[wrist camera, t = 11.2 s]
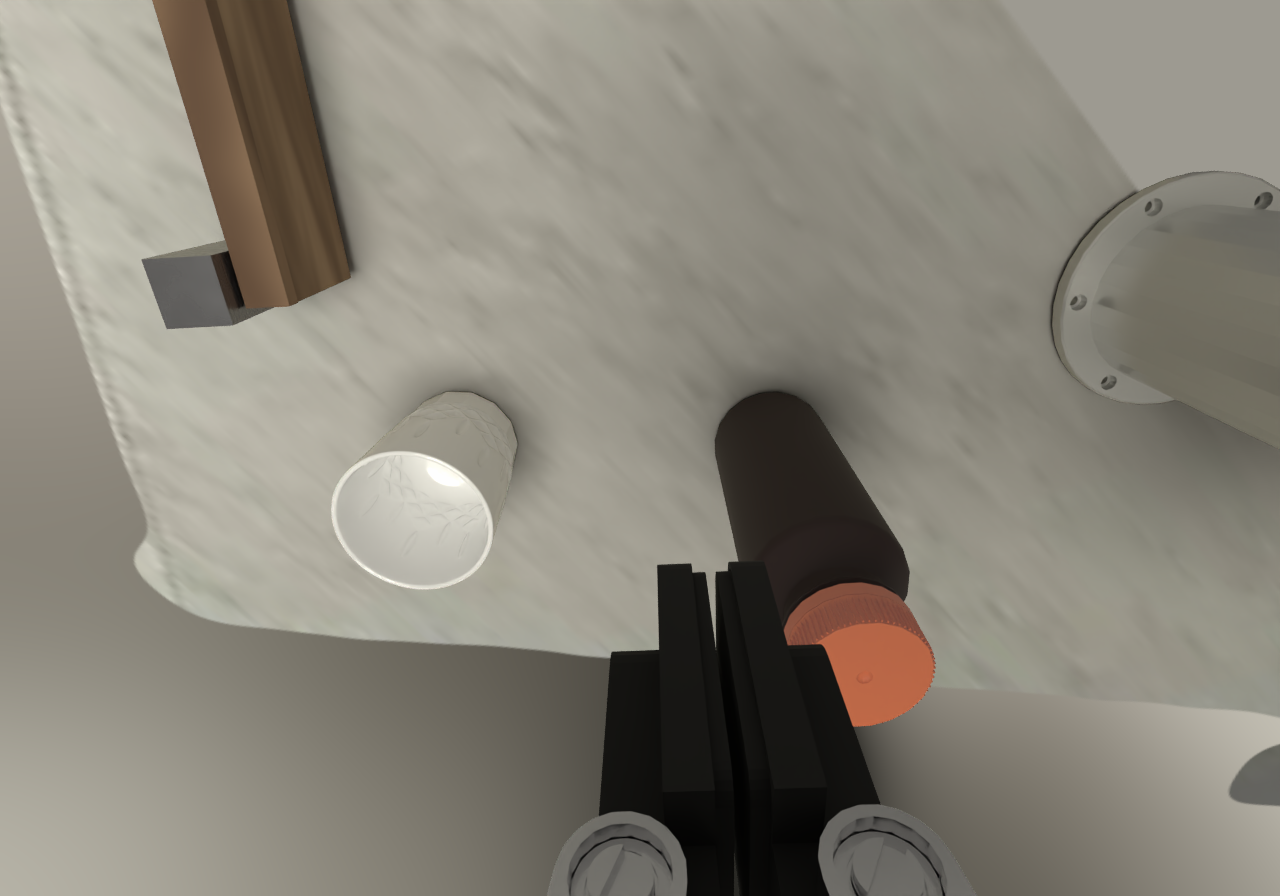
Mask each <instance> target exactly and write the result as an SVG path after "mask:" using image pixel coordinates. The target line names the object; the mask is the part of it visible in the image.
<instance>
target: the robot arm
mask: <svg viewBox="0 0 1280 896" xmlns="http://www.w3.org/2000/svg"><path fill="white" fill-rule="evenodd" d="M1071 300H1072V301H1071ZM1052 328H1053V335H1054V341H1055V346H1056V348H1057V351H1058V353H1059V356H1060V358H1061V361H1062V362H1063V364H1064V365H1065V367H1066V368H1067V369H1068V371H1069V372H1070V373H1071V375H1072V376H1073V377H1074V378H1076V379H1077V380H1078V381H1079V382H1080V383H1082V384H1083V385H1084V386H1085V387H1087V388H1089V389H1091V390H1092V391H1094V392H1096V393H1098V394H1099V395H1101V396H1104V397H1107V398H1110V399H1113V400H1115V401H1118V402H1124V403H1131V404H1139V405H1140V404H1160V403H1165V402H1169V401H1174V400H1178V401H1180V402H1182V403H1184V404H1186V405H1188V406H1190V407H1192V408H1194V409H1197V410H1199V411H1201V412H1203V413H1205V414H1207V415H1209V416H1211V417H1213V418H1215V419H1217V420H1219V421H1221V422H1223V423H1225V424H1227V425H1230V426H1232V427H1234V428H1236V429H1238V430H1240V431H1242V432H1244V433H1246V434H1248V435H1250V436H1252V437H1254V438H1256V439H1258V440H1261V441H1263V442H1265V443H1267V444H1269V445H1271V446H1273V447H1275V448H1277V449H1279V450H1280V190H1279V189H1278V188H1276V187H1275V186H1273V185H1271V184H1269V183H1268V182H1266V181H1264V180H1263V179H1261V178H1257V177H1253V176H1250V175H1246V174H1242V173H1236V172H1235V173H1234V172H1222V171H1209V172H1193V173H1188V174H1184V175H1180V176H1176V177H1172V178H1168V179H1165V180H1163V181H1161V182H1159V183H1156V184H1154V185H1152V186H1149V187H1147V188H1145V189H1143V190H1141V191H1139V192H1138V193H1136V194H1135V195H1133V196H1132V197H1130V198H1128V199H1127V200H1125V201H1124V202H1122V203H1120V204H1119V205H1118V206H1117V207H1116V208H1115V209H1113V210H1112V211H1111V212H1110V213H1109V214H1107V215H1106V216H1105V217H1104V218H1103V219H1102V220H1100V221H1099V223H1098V224H1097V225H1096V226H1095V227H1094V228H1093V229H1092V230H1091V232H1090V233H1089V234H1088V235H1087V236H1086V237H1085V238H1084V240H1083V241H1082V242H1081V244H1080V245H1079V247H1078V248H1077V250H1076V251H1075V253H1074V254H1073V256H1072V258H1071V259H1070V261H1069V262H1068V265H1067V267H1066V269H1065V271H1064V274H1063V276H1062V278H1061V280H1060V282H1059V285H1058V289H1057V293H1056V297H1055V301H1054V305H1053V320H1052ZM657 573H658V617H659V650H647V651H620V652H612V653H611V659H610V671H609V684H608V698H607V712H606V726H605V740H604V753H603V767H602V781H601V795H600V808H599V817H596V818H593V819H592V820H590V821H589V822H587V823H586V824H585V825H583V826H582V827H580V828H579V829H577V830H576V831H575V833H574V834H573V835H572V836H571V837H570V839H569V840H568V841H567V842H566V843H565V845H564V846H563V848H562V851H561V853H560V855H559V857H558V860H557V862H556V864H555V867H554V871H553V875H552V878H551V882H550V885H549V889H548V893H547V896H734V854H735V862H736V870H737V878H738V887H739V895H740V896H977V895H976V893H975V892H974V890H973V888H972V887H971V885H970V883H969V882H968V880H967V878H966V876H965V875H964V873H963V871H962V869H961V868H960V866H959V864H958V863H957V861H956V859H955V858H954V856H953V854H952V853H951V852H950V850H949V849H948V848H947V846H946V845H945V844H944V842H943V841H942V840H941V838H940V837H939V836H938V835H937V834H936V833H935V832H933V831H932V830H931V829H930V828H929V827H927V826H926V825H925V824H924V823H923V822H921V821H920V820H919V819H917V818H914V817H913V816H911V815H909V814H907V813H905V812H903V811H901V810H899V809H895V808H891V807H887V806H883V805H881V804H880V801H879V799H878V796H877V793H876V790H875V787H874V785H873V782H872V779H871V776H870V773H869V770H868V768H867V765H866V762H865V759H864V756H863V753H862V751H861V748H860V745H859V742H858V739H857V736H856V734H855V731H854V728H853V725H852V722H851V719H850V716H849V713H848V711H847V708H846V705H845V702H844V699H843V696H842V694H841V691H840V688H839V685H838V682H837V679H836V677H835V674H834V671H833V668H832V665H831V662H830V660H829V657H828V654H827V652H826V650H825V648H824V646H823V645H822V644H810V645H788V644H787V641H786V637H785V633H784V630H783V626H782V623H781V619H780V616H779V612H778V608H777V605H776V601H775V598H774V594H773V590H772V587H771V583H770V580H769V576H768V573H767V569H766V565H765V563H764V561H739V562H729V563H728V571H721V572H716V577H715V582H716V647H715V640H714V632H713V625H712V617H711V610H710V603H709V595H708V588H707V580H706V574H705V572H697V573H692V566H691V564H667V565H657Z"/></svg>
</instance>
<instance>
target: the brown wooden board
mask: <svg viewBox="0 0 1280 896" xmlns="http://www.w3.org/2000/svg"><path fill="white" fill-rule="evenodd" d="M152 1H153V4H154V8H155V11H156V14H157V18H158V21H159V24H160V27H161V31H162V34H163V37H164V40H165V44H166V47H167V50H168V54H169V57H170V60H171V63H172V67H173V70H174V73H175V77H176V80H177V83H178V86H179V90H180V93H181V96H182V100H183V103H184V106H185V109H186V113H187V116H188V119H189V123H190V126H191V129H192V132H193V136H194V139H195V142H196V146H197V149H198V152H199V155H200V159H201V162H202V165H203V169H204V172H205V175H206V178H207V182H208V185H209V188H210V192H211V195H212V198H213V201H214V205H215V208H216V211H217V215H218V218H219V221H220V224H221V228H222V231H223V234H224V238H225V241H226V244H227V247H228V251H229V254H230V257H231V261H232V264H233V267H234V270H235V274H236V277H237V280H238V283H239V287H240V290H241V293H242V297H243V300H244V303H245V306H246V309H247V308H267V307H287V306H292V305H294V304H296V303H298V301H301V300H303V299H305V298H307V297H310V296H312V295H314V294H316V293H318V292H321V291H323V290H325V289H327V288H329V287H332V286H334V285H336V284H338V283H341V282H343V281H345V280H347V279H349V278H351V275H350V271H349V267H348V262H347V258H346V254H345V250H344V245H343V241H342V237H341V232H340V228H339V224H338V219H337V215H336V211H335V207H334V202H333V198H332V194H331V189H330V185H329V181H328V176H327V172H326V168H325V163H324V159H323V155H322V151H321V146H320V142H319V138H318V133H317V129H316V125H315V120H314V116H313V112H312V108H311V103H310V99H309V95H308V90H307V86H306V82H305V77H304V73H303V69H302V64H301V60H300V56H299V52H298V47H297V43H296V39H295V34H294V30H293V26H292V21H291V17H290V13H289V9H288V4H287V0H152Z"/></svg>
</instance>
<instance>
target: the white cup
mask: <svg viewBox="0 0 1280 896" xmlns="http://www.w3.org/2000/svg"><path fill="white" fill-rule="evenodd" d="M517 445H518V443H517V440H516V436H515V433H514V430H513V426H512V423H511V421H510V420H509V419H508V418H507V417H506V415H505V414H504V413H503V412H502V411H501V410H500V409H499V408H498V406H497V405H496V404H495V403H493V402H491V401H489V400H487V399H484V398H482V397H480V396H478V395H476V394H474V393H471V392H445V393H442V394H440V395H438V396H436V397H433V398H431V399H429V400H427V401H425V402H424V403H422V404H421V405H420V406H419V407H418V408H417V409H416V410H415V411H414V412H413V413H411V414H410V415H408V416H407V417H406V418H404V419H403V420H402V421H401V422H400V423H399V424H398V425H396V426H395V427H394V428H393V429H392V430H390V431H389V432H388V433H387V434H386V435H385V436H384V437H383V438H382V439H380V440H379V441H378V442H377V443H376V444H375V445H374V446H373V447H372V448H371V449H370V450H369V451H368V452H367V453H366V454H365V455H364V456H363V457H362V458H360V459H359V460H358V461H357V462H356V463H355V464H354V465H353V466H352V467H351V468H350V469H349V470H348V471H347V472H346V473H345V474H344V475H343V476H342V478H341V479H340V481H339V482H338V484H337V486H336V488H335V491H334V494H333V498H332V504H331V516H332V522H333V526H334V530H335V532H336V535H337V537H338V539H339V541H340V543H341V545H342V546H343V548H344V549H345V550H346V552H347V553H348V554H349V555H350V557H351V558H352V559H353V560H354V561H355V562H356V563H357V564H358V565H360V566H361V567H362V568H363V569H365V570H366V571H367V572H369V573H370V574H372V575H374V576H375V577H377V578H379V579H381V580H383V581H386V582H388V583H391V584H394V585H397V586H401V587H405V588H411V589H438V588H443V587H447V586H450V585H453V584H456V583H458V582H460V581H462V580H464V579H466V578H467V577H469V576H470V575H472V574H473V573H474V572H475V571H476V570H477V569H478V568H479V567H480V566H481V565H482V563H483V562H484V561H485V559H486V557H487V555H488V553H489V551H490V548H491V545H492V542H493V538H494V535H495V532H496V529H497V525H498V522H499V519H500V516H501V513H502V510H503V507H504V503H505V499H506V495H507V492H508V488H509V484H510V480H511V477H512V468H513V465H514V460H515V455H516V450H517Z"/></svg>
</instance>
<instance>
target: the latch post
mask: <svg viewBox="0 0 1280 896" xmlns="http://www.w3.org/2000/svg"><path fill="white" fill-rule="evenodd" d="M141 260H142V263H143V265H144V268H145V271H146V273H147V276H148V279H149V282H150V284H151V287H152V290H153V293H154V295H155V298H156V301H157V303H158V306H159V309H160V312H161V314H162V317H163V320H164V323H165V325H166V328H167V329H175V328H193V327H212V326H230V325H235V324H237V323H239V322H242V321H244V320H246V319H249V318H251V317H253V316H255V315H258V314H260V313H262V312H265V311H267V310H269V309H271V308H274V307H267V308H247V309H246V306H245V303H244V300H243V297H242V293H241V290H240V287H239V283H238V280H237V277H236V274H235V270H234V267H233V264H232V261H231V257H230V254H229V251H228V247H227V244H226V241H225V240H224V241H220V242H216V243H211V244H207V245H203V246H198V247H194V248H189V249H185V250H181V251H176V252H172V253H167V254H163V255H159V256H154V257H150V258H146V259H141Z"/></svg>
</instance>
